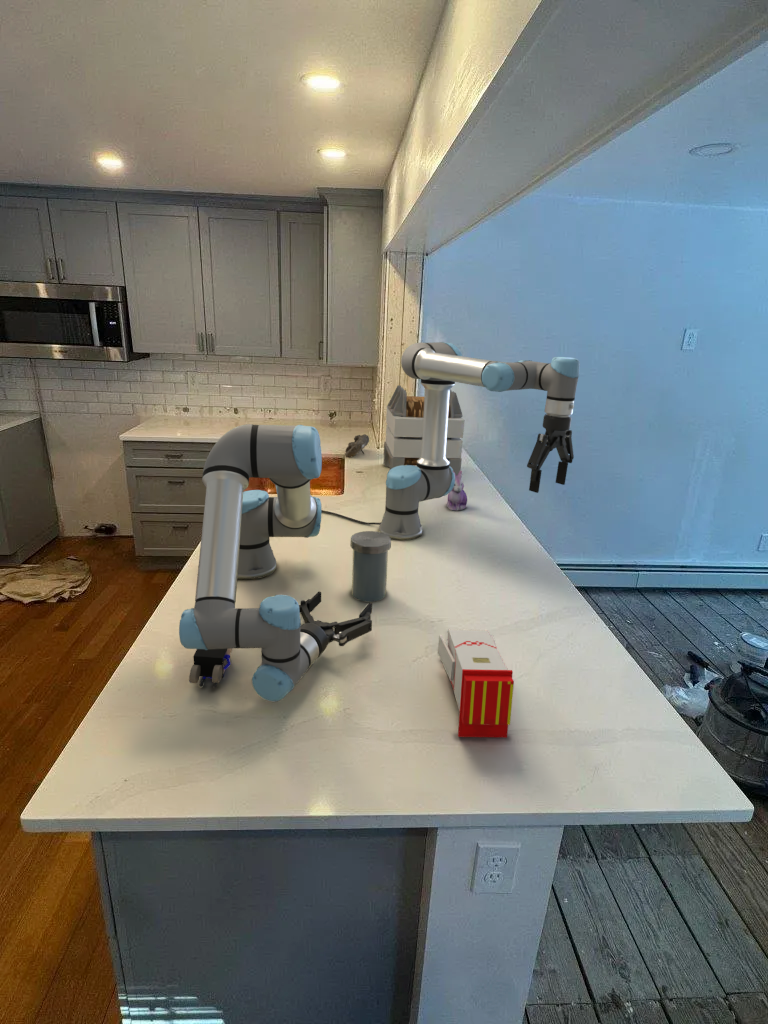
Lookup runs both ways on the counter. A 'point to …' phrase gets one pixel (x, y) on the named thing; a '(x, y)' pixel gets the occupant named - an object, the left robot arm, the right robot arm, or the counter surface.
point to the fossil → (357, 445)
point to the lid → (370, 542)
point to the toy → (478, 682)
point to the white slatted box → (418, 430)
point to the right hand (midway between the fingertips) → (547, 487)
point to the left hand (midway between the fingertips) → (344, 601)
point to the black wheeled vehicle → (209, 665)
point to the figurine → (457, 494)
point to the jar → (369, 576)
